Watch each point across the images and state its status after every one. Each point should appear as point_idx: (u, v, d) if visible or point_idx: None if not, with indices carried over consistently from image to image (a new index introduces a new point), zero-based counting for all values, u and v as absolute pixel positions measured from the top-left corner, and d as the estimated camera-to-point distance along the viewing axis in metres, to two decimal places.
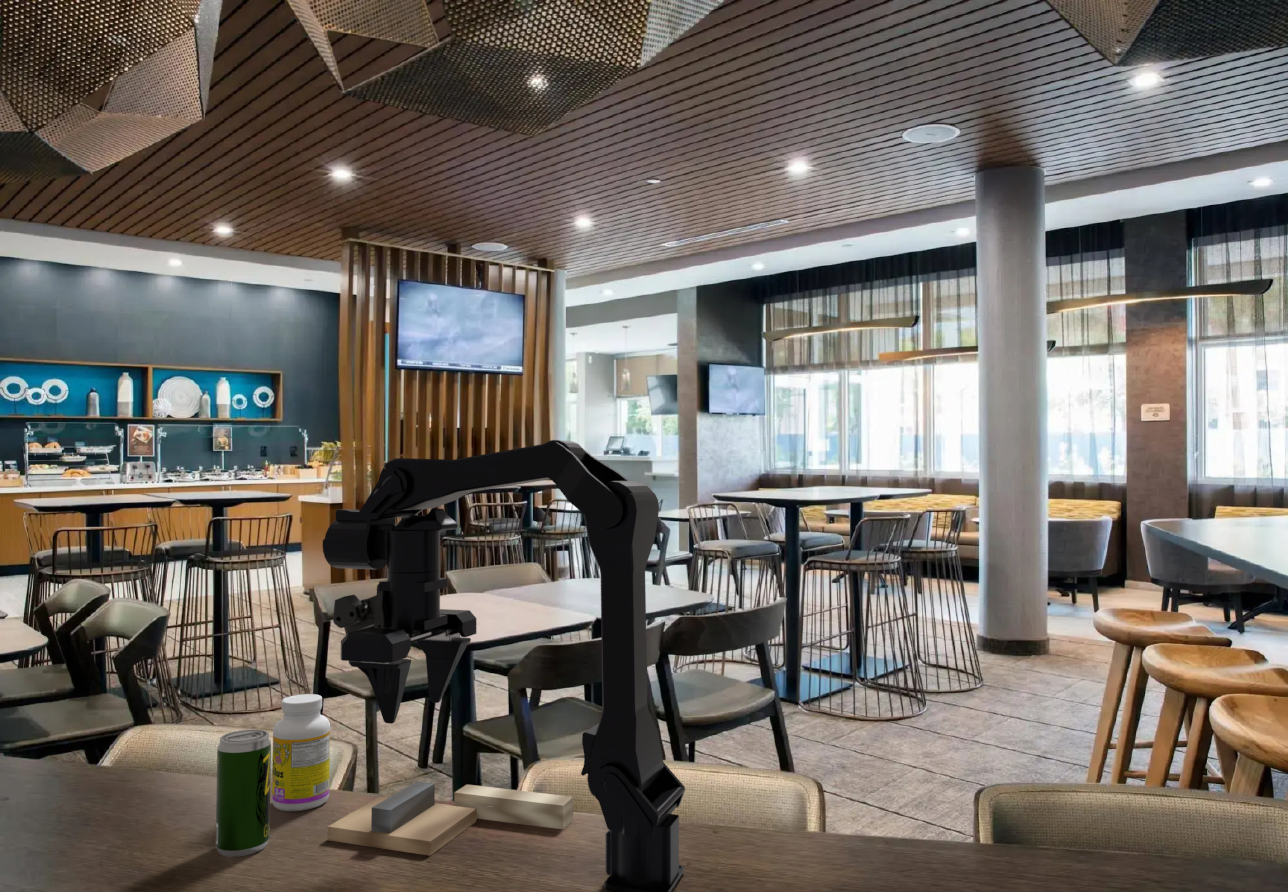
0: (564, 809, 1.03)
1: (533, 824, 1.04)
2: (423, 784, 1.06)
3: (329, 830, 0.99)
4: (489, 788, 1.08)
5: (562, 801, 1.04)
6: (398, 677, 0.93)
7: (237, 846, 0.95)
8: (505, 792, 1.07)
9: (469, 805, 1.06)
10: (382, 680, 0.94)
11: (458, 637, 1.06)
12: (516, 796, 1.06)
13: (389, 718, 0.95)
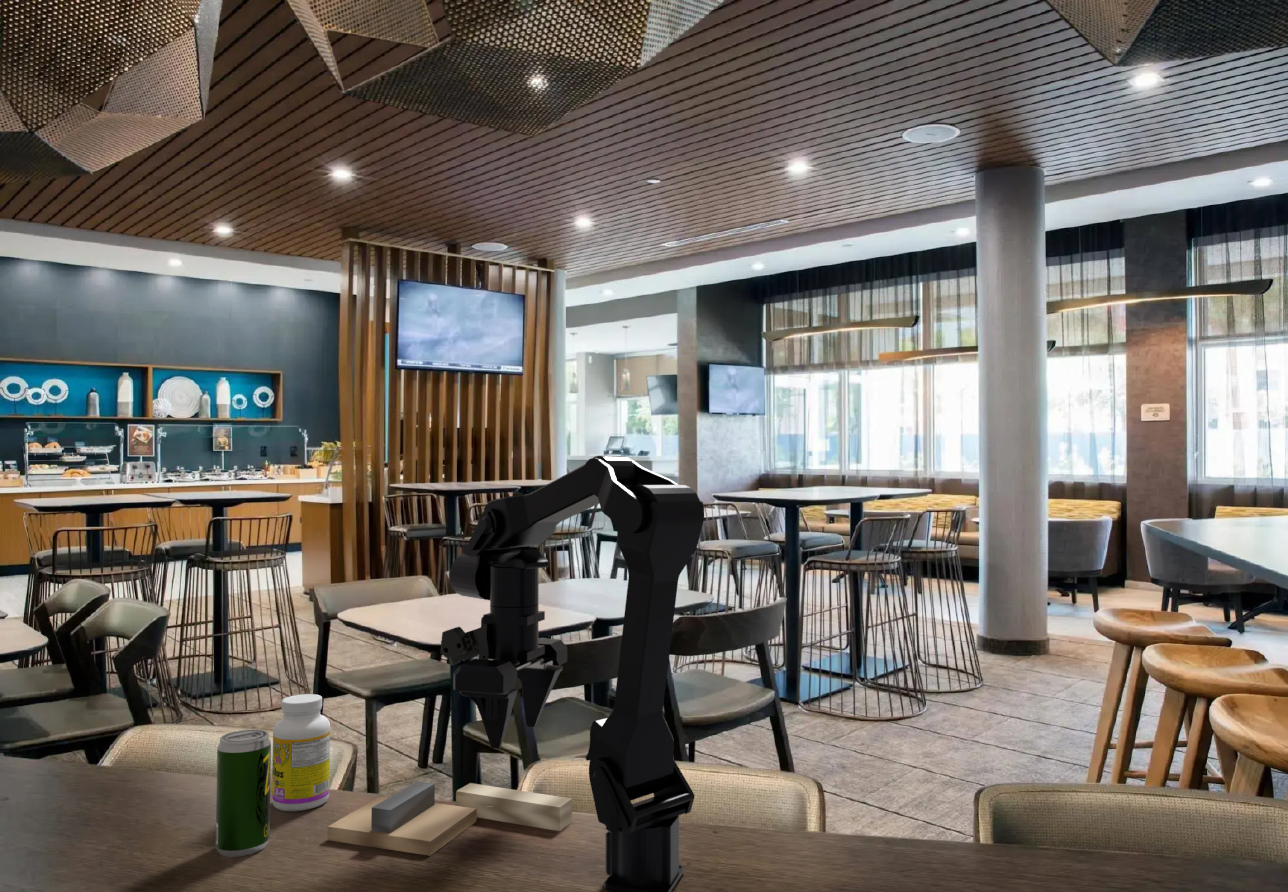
0: (561, 811, 1.02)
1: (531, 825, 1.03)
2: (423, 784, 1.06)
3: (329, 830, 0.99)
4: (491, 787, 1.09)
5: (559, 803, 1.03)
6: (506, 706, 1.00)
7: (237, 846, 0.95)
8: (505, 792, 1.07)
9: (470, 804, 1.07)
10: (489, 708, 1.01)
11: (551, 665, 1.13)
12: (516, 796, 1.06)
13: (496, 743, 1.02)
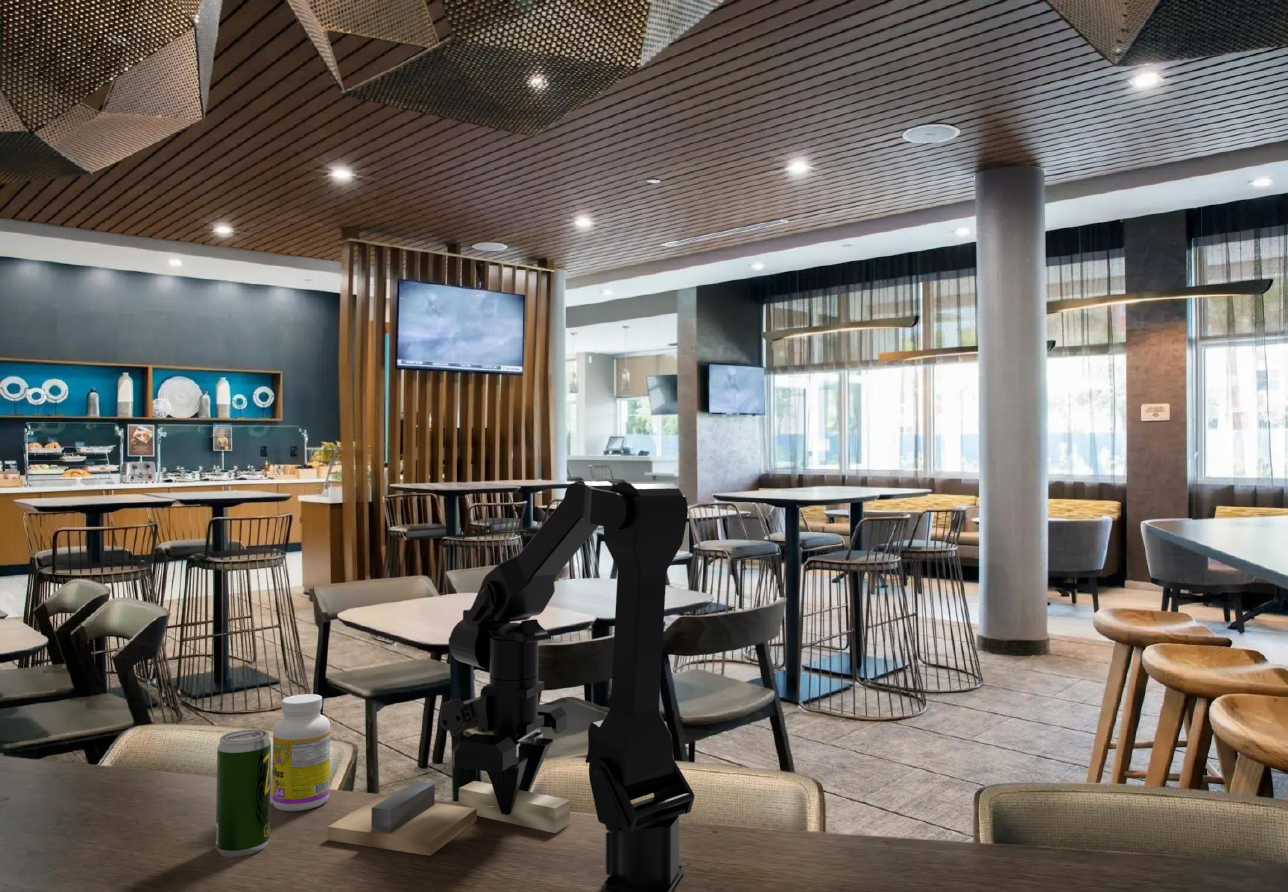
0: (557, 812, 1.02)
1: (528, 825, 1.03)
2: (423, 784, 1.06)
3: (329, 830, 0.99)
4: None
5: (556, 804, 1.03)
6: (516, 775, 1.02)
7: (237, 846, 0.95)
8: None
9: (471, 801, 1.07)
10: (500, 776, 1.03)
11: (541, 738, 1.10)
12: None
13: (506, 810, 1.04)
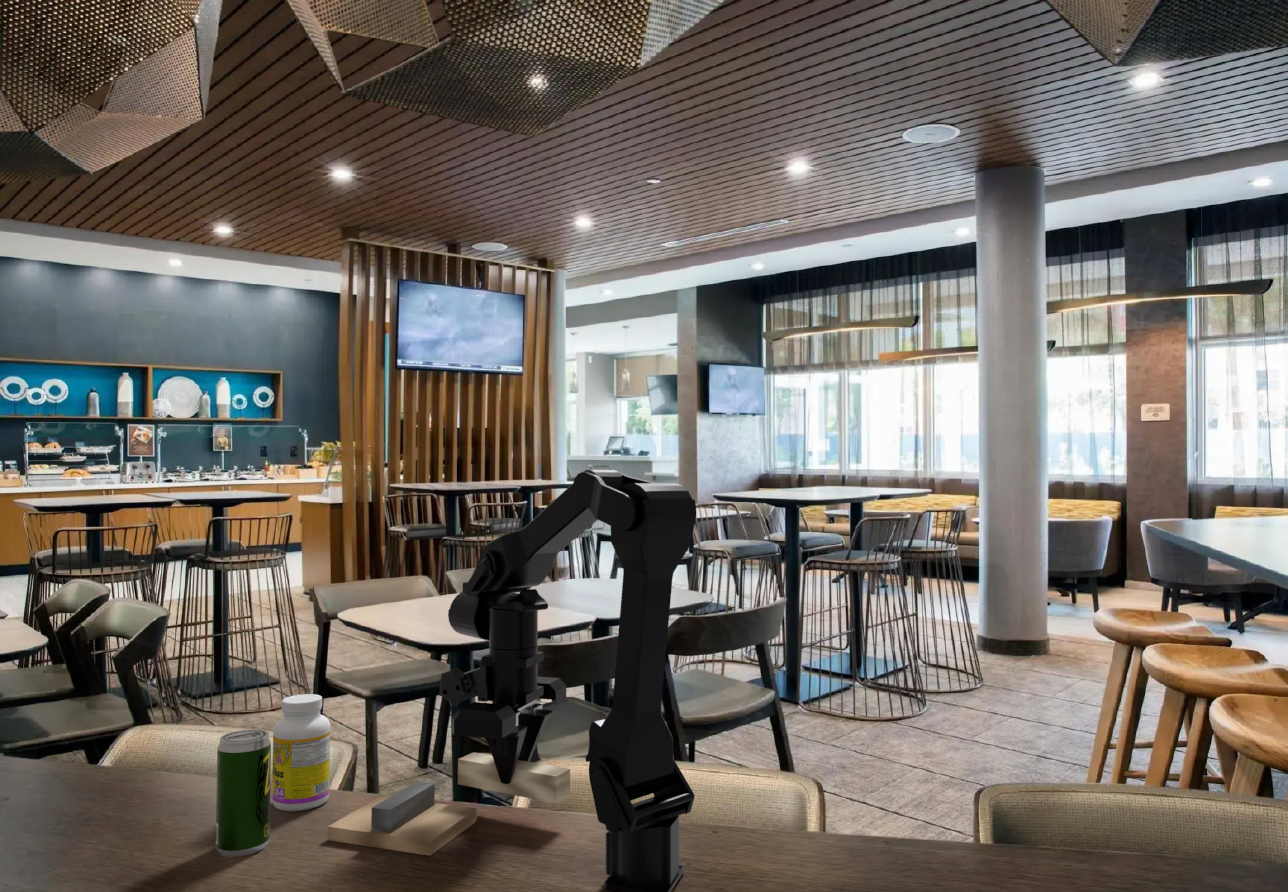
0: (557, 780, 1.02)
1: (528, 794, 1.03)
2: (423, 784, 1.06)
3: (329, 830, 0.99)
4: None
5: (556, 773, 1.03)
6: (516, 743, 1.02)
7: (237, 846, 0.95)
8: None
9: (471, 772, 1.07)
10: (500, 745, 1.04)
11: (540, 709, 1.10)
12: None
13: (506, 779, 1.04)
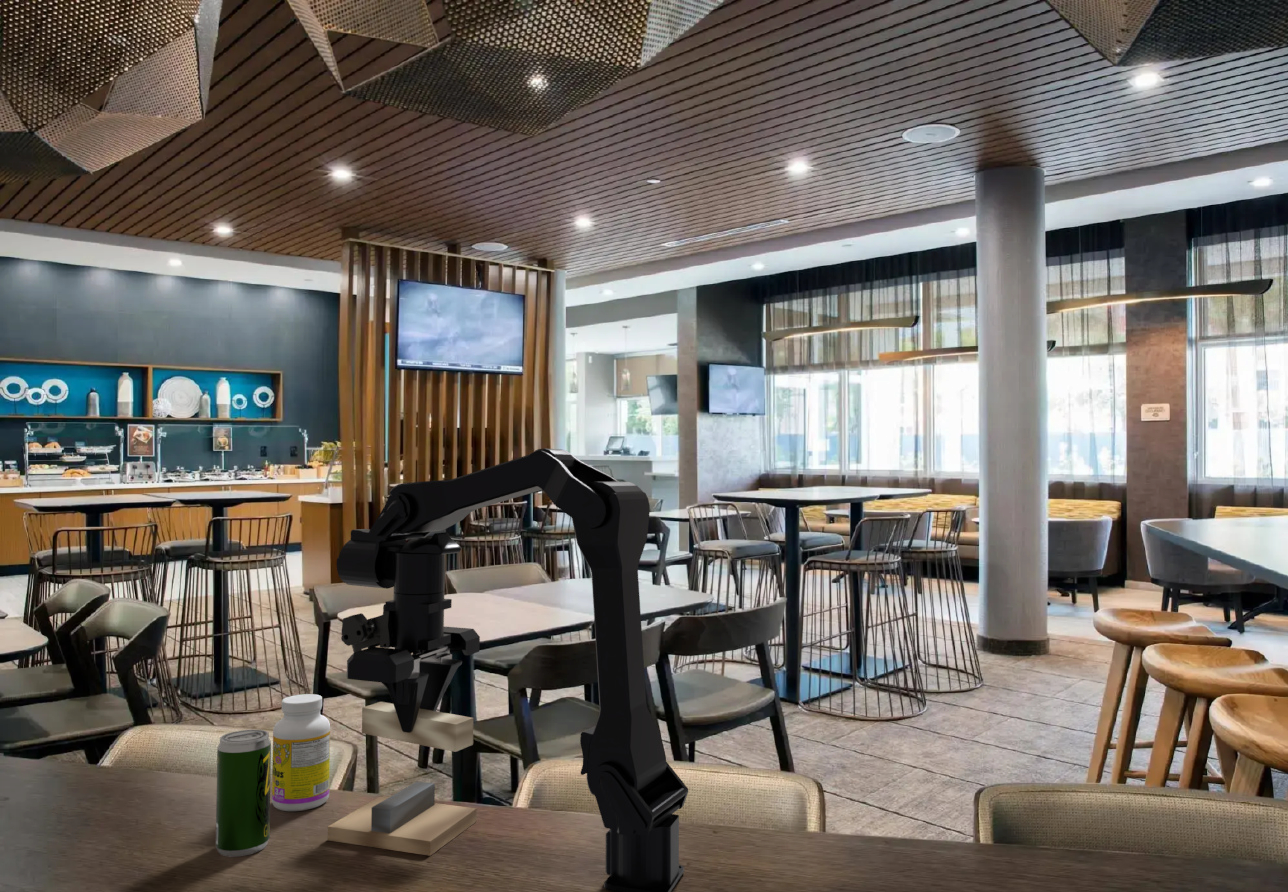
0: (458, 728, 0.99)
1: (429, 742, 1.00)
2: (423, 784, 1.06)
3: (329, 830, 0.99)
4: None
5: (457, 721, 1.00)
6: (416, 690, 0.99)
7: (237, 846, 0.95)
8: None
9: (374, 721, 1.04)
10: (401, 692, 1.01)
11: (449, 659, 1.07)
12: (418, 713, 1.03)
13: (407, 727, 1.01)
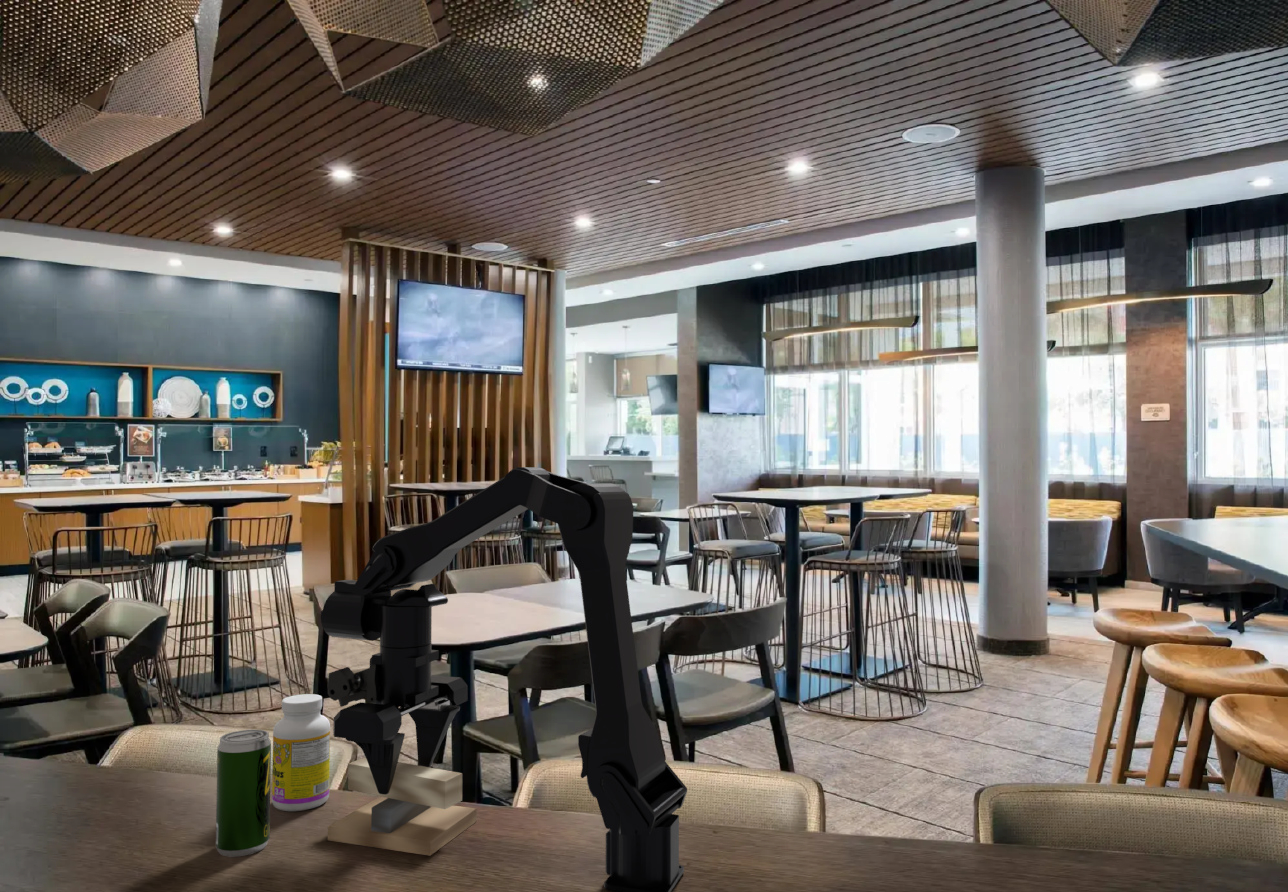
0: (447, 785, 0.98)
1: (418, 799, 0.99)
2: None
3: (329, 830, 0.99)
4: None
5: (446, 777, 0.99)
6: (392, 751, 0.96)
7: (237, 846, 0.95)
8: (397, 766, 1.03)
9: (361, 777, 1.03)
10: (376, 753, 0.98)
11: (447, 705, 1.08)
12: (406, 769, 1.02)
13: (383, 789, 0.98)
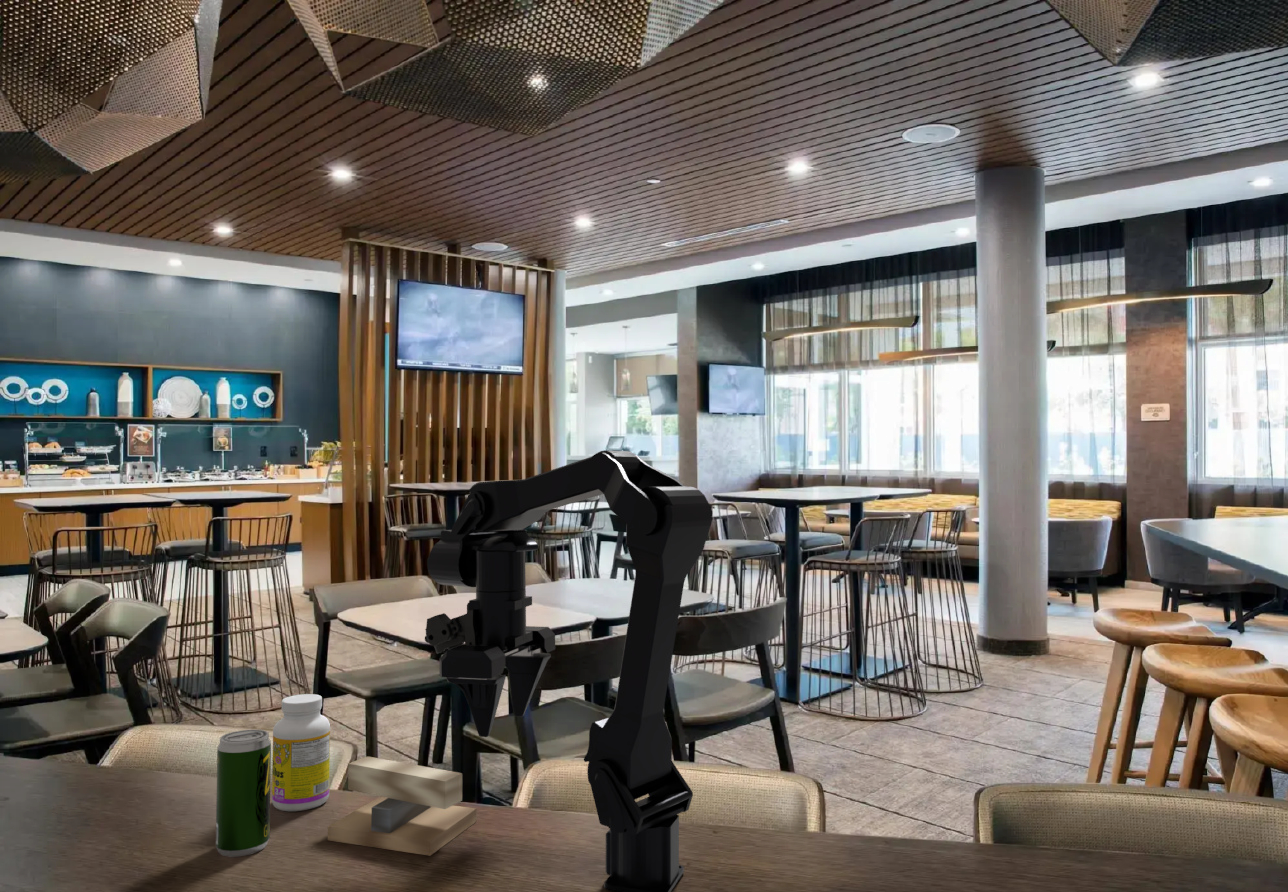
0: (447, 785, 0.98)
1: (418, 799, 0.99)
2: None
3: (329, 830, 0.99)
4: (386, 761, 1.05)
5: (446, 777, 0.99)
6: (494, 692, 0.97)
7: (237, 846, 0.95)
8: (397, 766, 1.03)
9: (361, 777, 1.03)
10: (477, 695, 0.98)
11: (538, 653, 1.10)
12: (406, 769, 1.02)
13: (484, 732, 0.99)
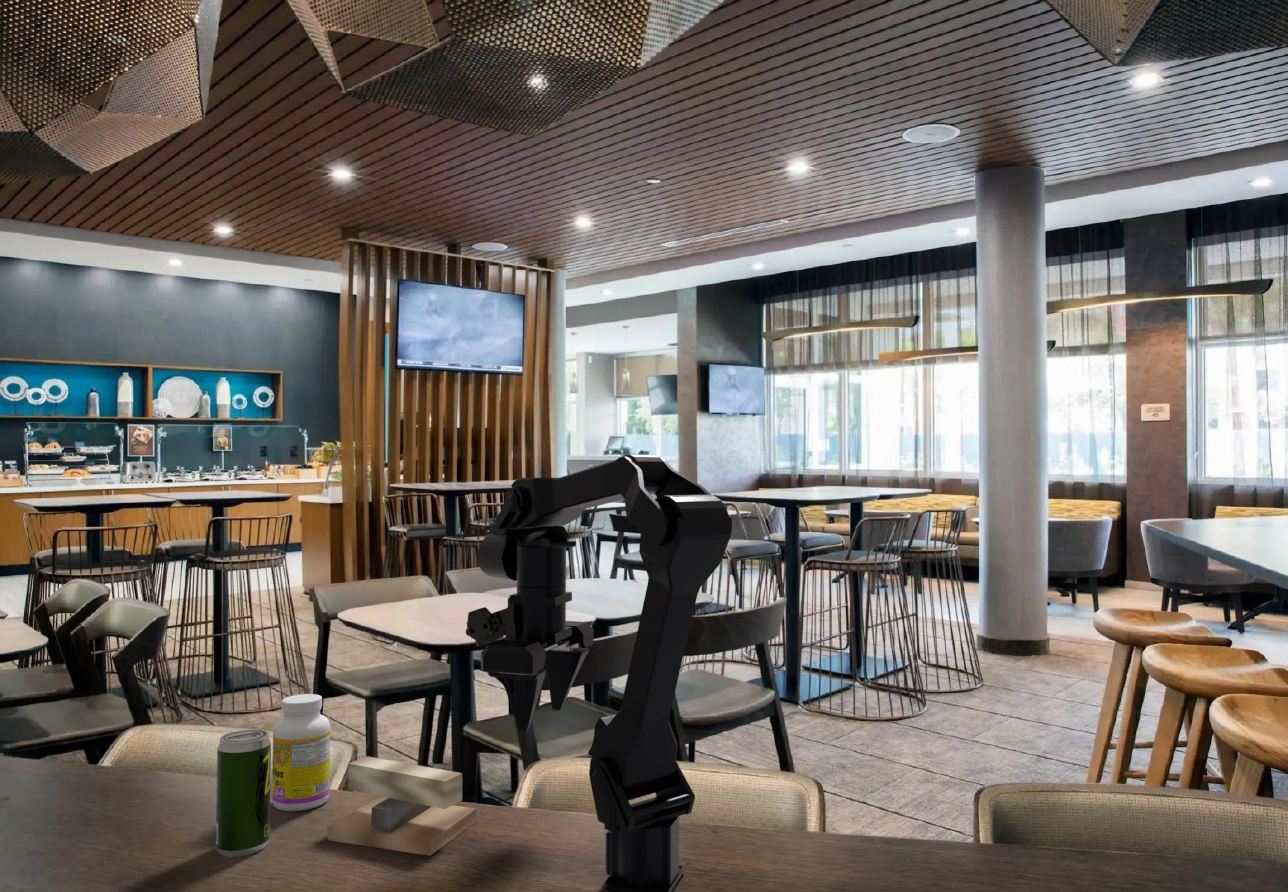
0: (447, 785, 0.98)
1: (418, 799, 0.99)
2: None
3: (329, 830, 0.99)
4: (386, 761, 1.05)
5: (446, 777, 0.99)
6: (535, 687, 0.98)
7: (237, 846, 0.95)
8: (397, 766, 1.03)
9: (361, 777, 1.03)
10: (517, 690, 0.99)
11: (577, 647, 1.11)
12: (406, 769, 1.02)
13: (523, 726, 1.00)
